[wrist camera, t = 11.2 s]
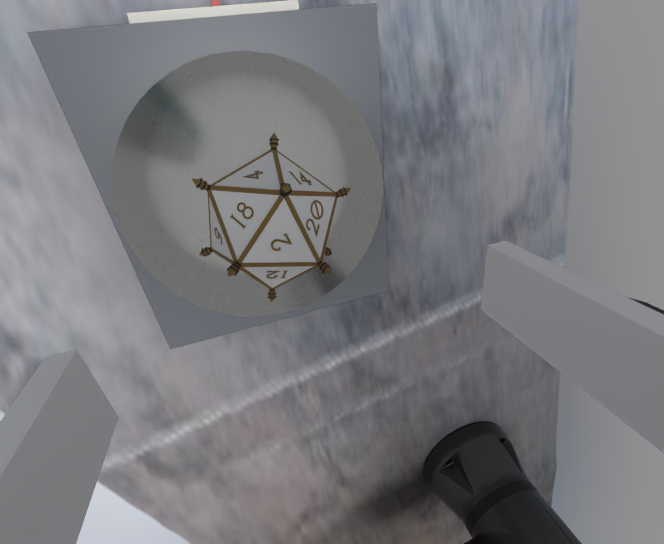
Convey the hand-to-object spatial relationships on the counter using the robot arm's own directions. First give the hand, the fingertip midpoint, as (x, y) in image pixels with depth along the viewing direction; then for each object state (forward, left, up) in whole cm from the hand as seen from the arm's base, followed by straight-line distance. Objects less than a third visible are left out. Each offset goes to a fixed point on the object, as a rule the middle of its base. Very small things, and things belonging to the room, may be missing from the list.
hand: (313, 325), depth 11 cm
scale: (0, 0, -21) cm, 21 cm away
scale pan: (0, 0, -16) cm, 16 cm away
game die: (0, 0, -15) cm, 15 cm away
